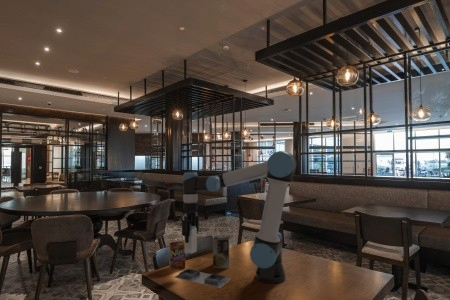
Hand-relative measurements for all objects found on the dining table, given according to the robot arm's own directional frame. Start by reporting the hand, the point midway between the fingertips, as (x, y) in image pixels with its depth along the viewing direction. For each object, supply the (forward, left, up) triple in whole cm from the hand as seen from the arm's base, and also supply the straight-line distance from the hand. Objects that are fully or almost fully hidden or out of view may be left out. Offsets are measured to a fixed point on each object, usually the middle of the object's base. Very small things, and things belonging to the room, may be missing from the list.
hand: (190, 247), depth 146 cm
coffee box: (-8, -19, -15) cm, 25 cm away
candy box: (+12, -5, -15) cm, 20 cm away
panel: (-7, 0, -15) cm, 16 cm away
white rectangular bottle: (0, 0, -2) cm, 2 cm away
